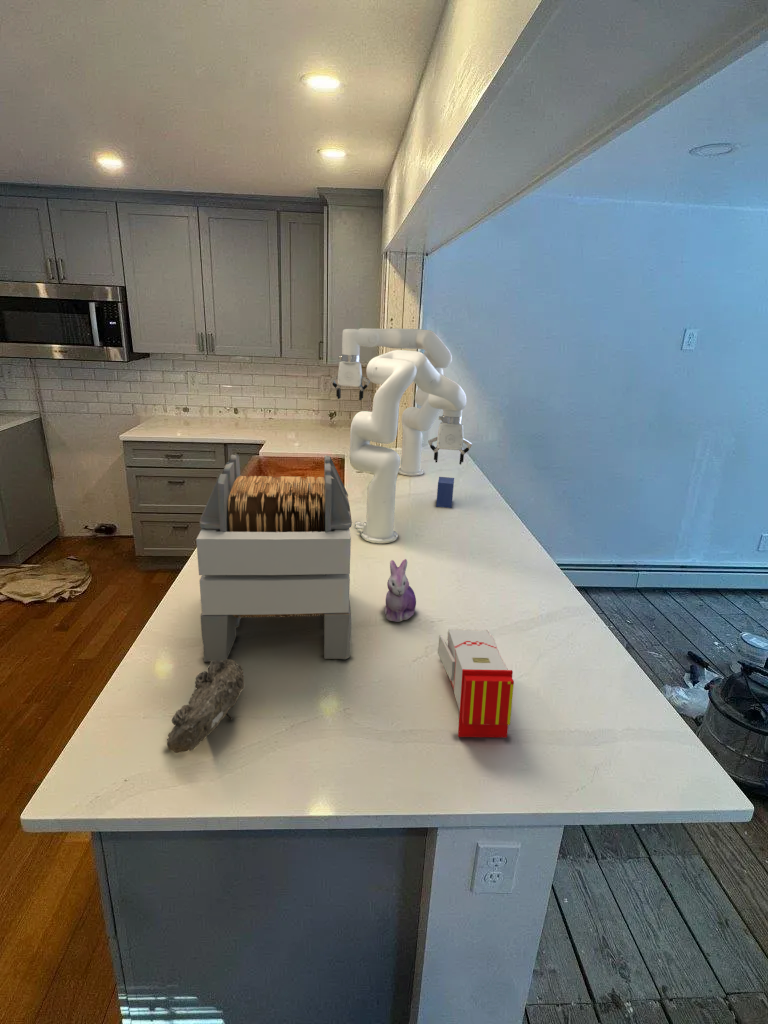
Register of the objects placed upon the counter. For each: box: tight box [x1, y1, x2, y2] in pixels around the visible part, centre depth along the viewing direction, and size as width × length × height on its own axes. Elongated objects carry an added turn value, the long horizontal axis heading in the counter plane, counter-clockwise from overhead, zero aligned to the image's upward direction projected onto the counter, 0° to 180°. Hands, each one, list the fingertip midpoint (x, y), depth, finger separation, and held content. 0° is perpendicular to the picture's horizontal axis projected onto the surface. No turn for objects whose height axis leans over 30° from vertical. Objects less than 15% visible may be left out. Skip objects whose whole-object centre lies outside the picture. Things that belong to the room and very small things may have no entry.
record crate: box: [195, 453, 353, 663], centre depth 134 cm, size 34×33×41 cm
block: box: [435, 476, 455, 509], centre depth 231 cm, size 6×9×10 cm
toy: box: [437, 628, 515, 738], centre depth 117 cm, size 12×13×30 cm
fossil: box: [166, 658, 245, 754], centre depth 106 cm, size 22×10×15 cm
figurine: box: [384, 558, 417, 623], centre depth 145 cm, size 9×10×15 cm
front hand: (448, 462), depth 227 cm, fingers open, 9 cm apart
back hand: (349, 399), depth 249 cm, fingers open, 9 cm apart
